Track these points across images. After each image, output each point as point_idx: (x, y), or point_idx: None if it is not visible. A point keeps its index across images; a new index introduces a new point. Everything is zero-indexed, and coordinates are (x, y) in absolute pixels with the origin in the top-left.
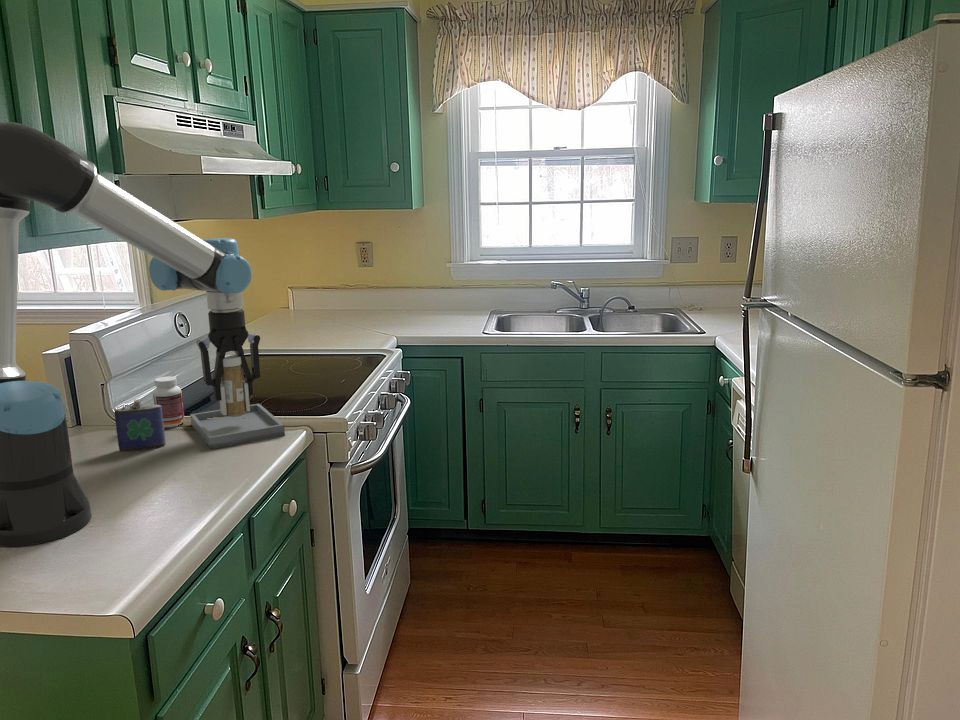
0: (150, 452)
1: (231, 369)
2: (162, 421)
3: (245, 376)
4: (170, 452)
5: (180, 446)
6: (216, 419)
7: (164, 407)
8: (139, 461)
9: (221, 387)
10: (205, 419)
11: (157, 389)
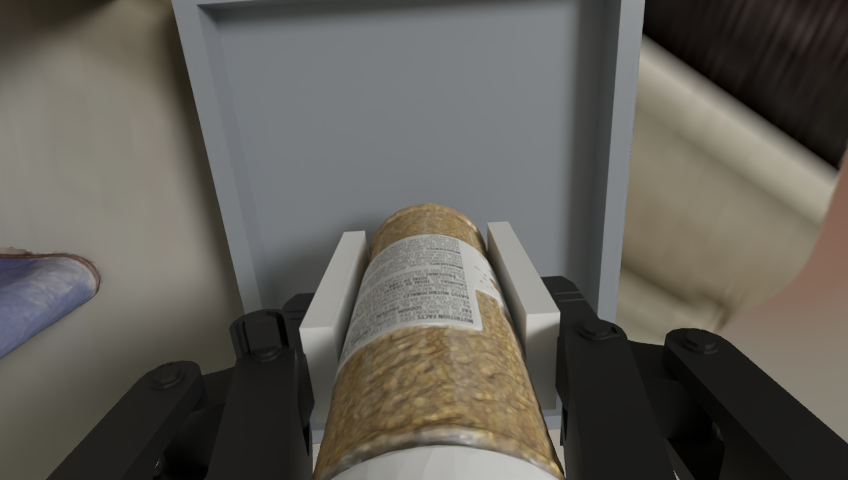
0: (54, 341)
1: None
2: (6, 351)
3: (564, 443)
4: (137, 375)
5: (170, 325)
6: (340, 49)
7: None
8: (33, 415)
9: (322, 422)
10: (277, 11)
11: None
